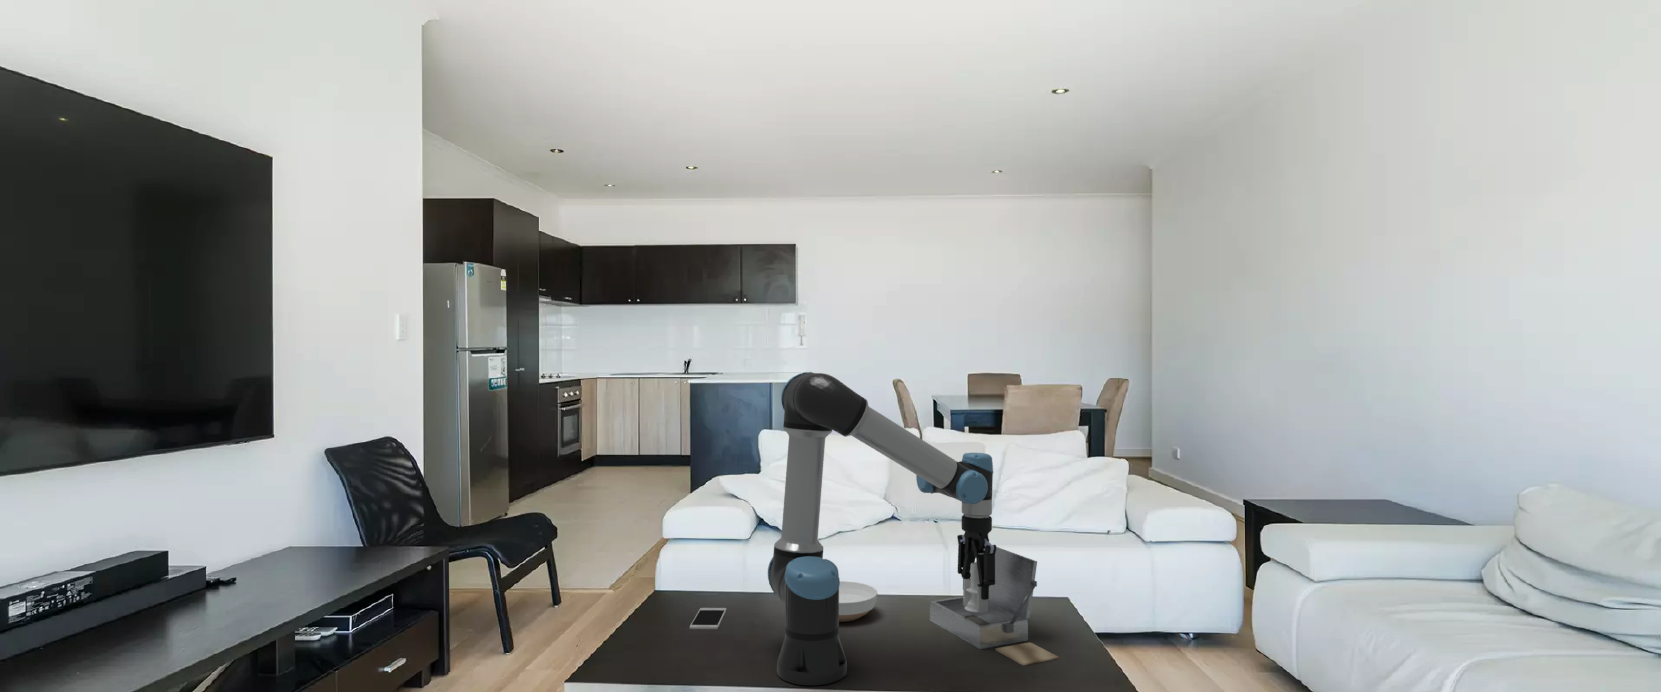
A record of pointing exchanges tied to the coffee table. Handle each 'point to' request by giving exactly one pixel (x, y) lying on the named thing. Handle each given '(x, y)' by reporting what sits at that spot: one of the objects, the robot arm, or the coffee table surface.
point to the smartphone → (708, 618)
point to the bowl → (855, 600)
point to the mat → (1026, 653)
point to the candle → (973, 588)
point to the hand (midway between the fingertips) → (975, 607)
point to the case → (994, 605)
